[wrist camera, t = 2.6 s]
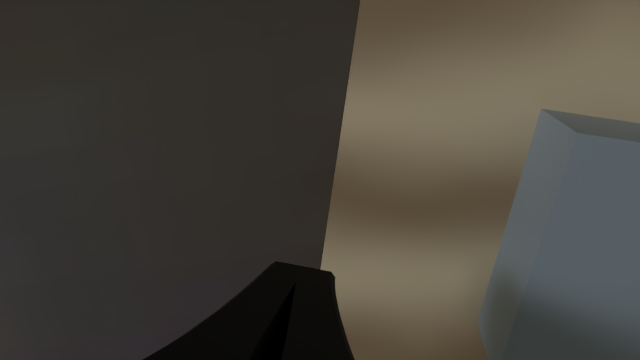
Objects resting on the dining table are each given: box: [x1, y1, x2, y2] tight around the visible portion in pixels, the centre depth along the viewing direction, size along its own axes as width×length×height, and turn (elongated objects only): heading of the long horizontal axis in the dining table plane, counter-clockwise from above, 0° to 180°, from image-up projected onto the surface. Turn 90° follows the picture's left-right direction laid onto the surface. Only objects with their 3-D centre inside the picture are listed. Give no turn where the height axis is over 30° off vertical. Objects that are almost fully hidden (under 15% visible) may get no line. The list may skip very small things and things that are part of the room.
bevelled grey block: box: [477, 109, 640, 360], centre depth 14 cm, size 8×6×3 cm
